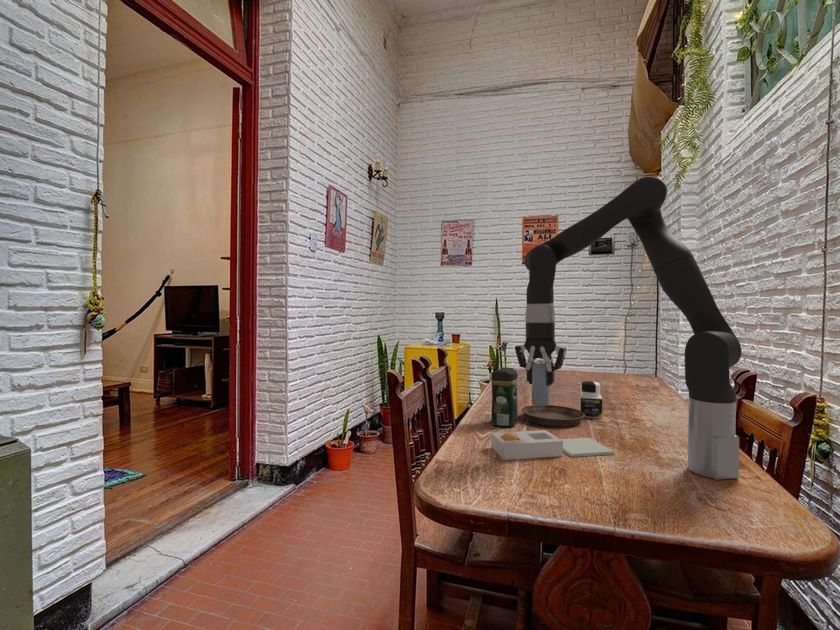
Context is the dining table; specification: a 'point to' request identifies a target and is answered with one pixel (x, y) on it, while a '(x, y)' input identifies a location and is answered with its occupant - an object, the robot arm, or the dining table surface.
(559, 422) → the plant saucer
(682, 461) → the dining table surface
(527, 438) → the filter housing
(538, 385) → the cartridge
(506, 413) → the coffee jar
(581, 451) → the pad
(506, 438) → the orange rounded piece
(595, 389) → the medicine bottle
